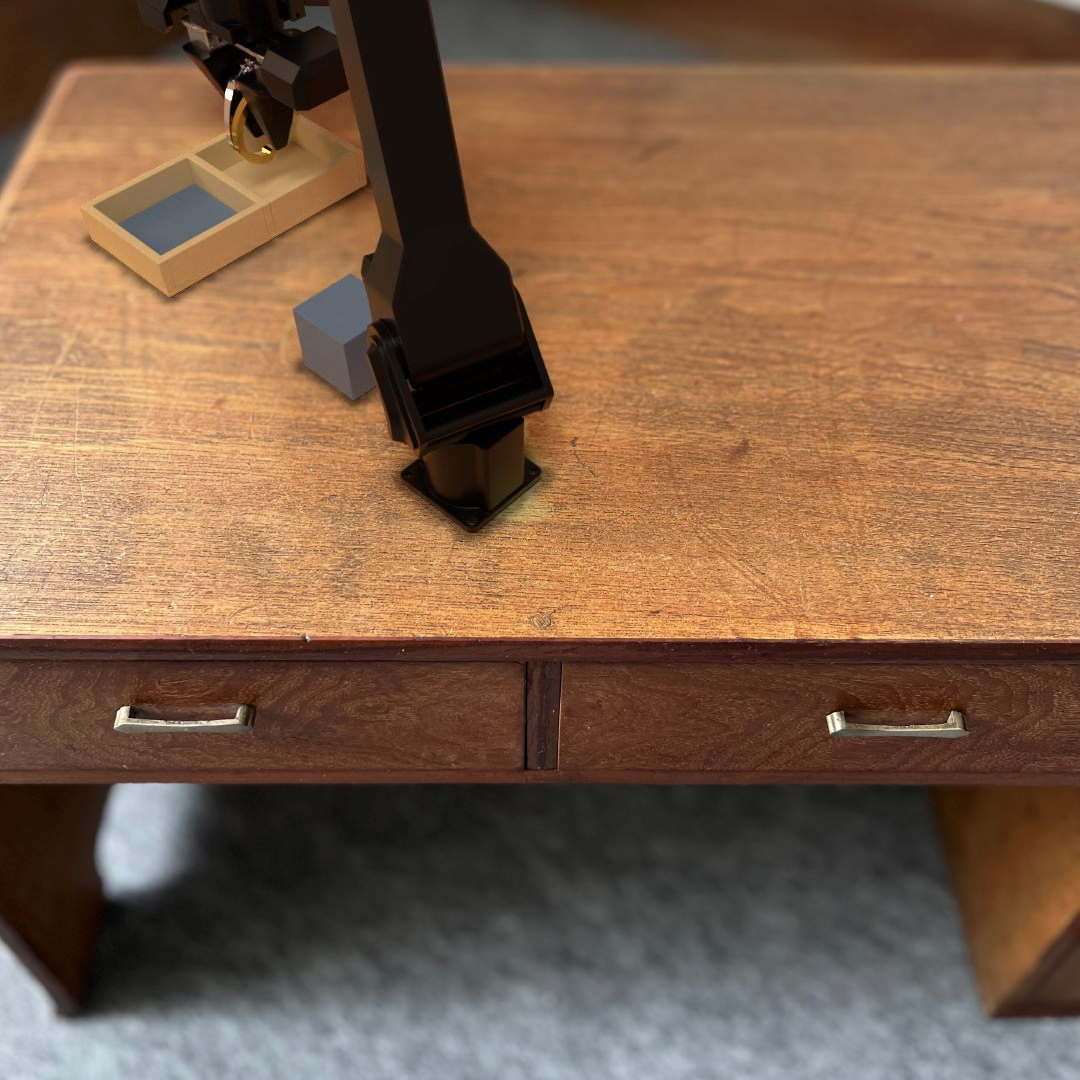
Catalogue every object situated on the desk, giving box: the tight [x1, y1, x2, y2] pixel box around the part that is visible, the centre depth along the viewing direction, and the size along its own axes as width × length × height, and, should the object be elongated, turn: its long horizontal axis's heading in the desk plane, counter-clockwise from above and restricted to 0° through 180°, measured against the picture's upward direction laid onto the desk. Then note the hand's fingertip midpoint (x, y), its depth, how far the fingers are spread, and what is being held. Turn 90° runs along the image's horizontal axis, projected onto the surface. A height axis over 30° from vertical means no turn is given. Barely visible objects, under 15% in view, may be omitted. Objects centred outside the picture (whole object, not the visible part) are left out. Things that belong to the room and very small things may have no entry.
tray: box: [78, 113, 368, 298], centre depth 82 cm, size 19×10×3 cm, turn 138°
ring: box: [223, 57, 300, 164], centre depth 80 cm, size 7×3×8 cm, turn 143°
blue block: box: [292, 273, 376, 401], centre depth 71 cm, size 5×5×5 cm
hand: (270, 141), depth 82 cm, fingers closed on ring, 2 cm apart
